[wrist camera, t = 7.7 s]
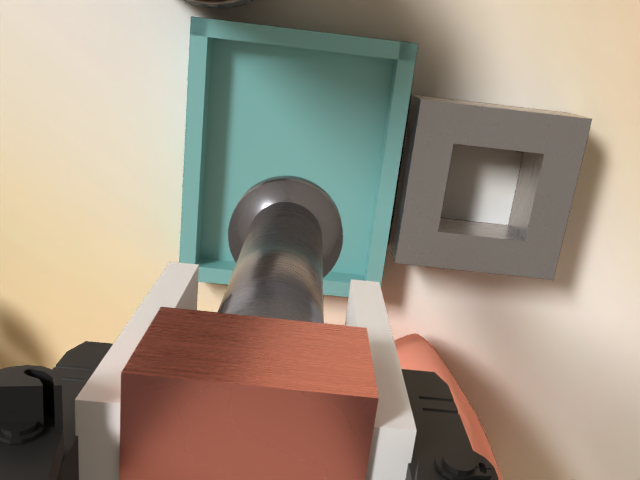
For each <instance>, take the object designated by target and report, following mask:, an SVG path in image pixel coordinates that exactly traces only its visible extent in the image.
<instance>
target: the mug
mask: <svg viewBox="0 0 640 480" xmlns="http://www.w3.org/2000/svg"><path fill="white" fill-rule="evenodd" d="M184 1H186V2H189V3H191V4H194V5H200V6H205V7H211V8H223V7H234V6H240V5H243V4H245V3H248V2H250V1H253V0H184Z"/></svg>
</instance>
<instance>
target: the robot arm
mask: <svg viewBox="0 0 640 480" xmlns="http://www.w3.org/2000/svg"><path fill="white" fill-rule="evenodd" d="M198 271H199V264H189V263H178V262H169V264H168V265H167V267H166V268H165V269H164V271H163V272H162V274H161V275H160V277H159V278H158V280H157V281H156V283H155V284H154V285H153V287H152V288H151V290H150V291H149V293H148V294H147V296H146V297H145V299H144V300H143V301H142V303H141V304H140V306H139V307H138V309H137V310H136V312H135V313H134V315H133V316H132V317H131V319H130V320H129V322H128V323H127V325H126V326H125V328H124V329H123V330H122V332H121V333H120V335H119V336H118V338H117V339H116V341H115V342H114V344H110V343H99V342H88V341H86V342H84V343H82V344H80V345H78V346H76V347H75V348H73V349H71V350H69V351H67V352H66V354H65V355H64V356H63V357H62V358H61V360H60V361H59V362H58V363H57V364H56V368H55V367H54V368H53V369H52V370H51V369H49V368H46V367H43V366H31V365H24V366H14V367H8V368H5V369H1V370H0V480H119V459H120V401H121V372H122V370H123V369H124V367H125V365H126V364H127V362H128V360H129V359H130V357H131V355H132V354H133V352H134V350H135V349H136V347H137V345H138V344H139V342H140V340H141V339H142V337H143V336H144V334H145V332H146V331H147V329H148V327H149V326H150V324H151V322H152V321H153V319H154V317H155V316H156V314H157V312H158V311H159V309H160V307H169V308H179V309H188V310H197V292H198ZM345 326H354V327H363V328H367V332H368V338H369V344H370V350H371V356H372V362H373V368H374V374H375V380H376V385H377V391H378V397H379V399H378V405H377V412H376V418H375V424H374V430H373V436H372V442H371V448H370V455H369V461H368V467H367V473H366V479H365V480H498V475H497V473H496V470H495V468H494V466H493V465H492V464H491V463H490V462H489V461H488V460H487V459H486V458H485V457H483V456H482V455H480V454H478V453H477V452H475V451H473V449H472V446H471V443H470V441H469V438H468V436H467V433H466V430H465V428H464V425H463V422H462V420H461V417H460V414H458V409H457V406H456V404H455V402H454V399H453V396H452V393H451V391H450V388H449V385H448V384H447V383H446V382H445V381H443V380H442V379H441V378H440V377H439V376H438V375H437V374H436V373H435V372H429V371H419V370H408V369H401V366H400V362H399V358H398V354H397V350H396V346H395V342H394V338H393V334H392V330H391V326H390V323H389V319H388V315H387V311H386V307H385V303H384V299H383V295H382V291H381V287H380V283H379V282H373V281H363V280H353V279H351V283H350V290H349V298H348V306H347V314H346V321H345Z"/></svg>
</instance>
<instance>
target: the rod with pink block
mask: <svg viewBox="0 0 640 480" xmlns="http://www.w3.org/2000/svg"><path fill="white" fill-rule="evenodd" d="M228 242H229V248H230V251H231V254H232V256H233V259H234V261H235V262H236V265H235V268H234V271H233V273H232V276H231V279H230V281H229V284H228V287H227V289H226V292H225V295H224V297H223V300H222V302H221V305H220V308H219V310H218V313H217V312H208V311H198V310H188V309H179V308H169V307H160V309H159V311H158V312H157V314H156V316H155V317H154V319H153V321H152V322H151V324H150V326H149V327H148V329H147V331H146V332H145V334H144V336H143V337H142V339H141V340H140V342H139V344H138V345H137V347H136V349H135V350H134V352H133V354H132V355H131V357H130V359H129V360H128V362H127V364H126V365H125V367H124V369H123V370H122V372H121V401H120V459H119V480H365V479H366V473H367V467H368V461H369V455H370V448H371V442H372V436H373V430H374V424H375V418H376V412H377V405H378V399H379V397H378V391H377V385H376V380H375V374H374V368H373V362H372V356H371V350H370V344H369V338H368V332H367V328H363V327H354V326H344V325H334V324H324V319H323V278H324V277H325V276H326V275H327V274H328V273H329V272H330V271H331V270H332V268H333V267H334V266H335V264H336V262H337V260H338V258H339V256H340V253H341V250H342V245H343V228H342V221H341V217H340V213H339V211H338V208H337V206H336V204H335V202H334V201H333V199H332V198H331V197H330V195H329V194H328V193H327V192H326V191H325V190H324V189H322V188H321V187H320V186H318V185H317V184H315V183H314V182H311V181H309V180H307V179H304V178H301V177H296V176H276V177H271V178H268V179H265V180H263V181H261V182H259V183H257V184H255V185H254V186H252V187H251V188H250V189H249V190H248V191H247V192H246V193H245V194H244V195H243V196H242V197H241V199H240V200H239V202H238V204H237V206H236V208H235V209H234V212H233V214H232V216H231V219H230V222H229V228H228Z"/></svg>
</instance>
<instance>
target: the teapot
mask: <svg viewBox="0 0 640 480" xmlns="http://www.w3.org/2000/svg"><path fill="white" fill-rule="evenodd" d="M394 342H395V346H396V350H397V354H398V358H399V362H400V366H401V369H408V370H419V371H429V372H435V373H436V374H437V375H438V376H439V377H440V378H441V379H442V380H443V381H445V382H446V383H447V384H448V385H449V388H450V391H451V393H452V396H453V399H454V402H455V404H456V406H457V409H458V414H460V417H461V420H462V422H463V425H464V428H465V430H466V433H467V436H468V438H469V441H470V443H471V446H472V449H473V451H475V452H477V453H478V454H480V455H482V456H483V457H485V458H486V459H487V460H488V461H489V462H490V463H491V464H492V465H493V466H494V468H495V470H496V473H497V475H498V480H502V477H501V474H500V471H499V468H498V466H497V463H496V460H495V458H494V455H493V452H492V450H491V447H490V445H489V442H488V440H487V438H486V435H485V433H484V431H483V429H482V427H481V425H480V422H479V420H478V418H477V416H476V415H475V413H474V411H473V409H472V407H471V405H470V403H469V402H468V400H467V398H466V397H465V395H464V393H463V392H462V390H461V388H460V387H459V385H458V384H457V382H456V380H455V379H454V377H453V376H452V374H451V373H450V371H449V370H448V368H447V367H446V365H445V364H444V362H443V361H442V359H441V358H440V357H439V355H438V354H437V353H436V351H435V350H434V348H433V347H432V346H431V345H430V344H429V343H428V342H427V341H426V340H425V339H424V338H423V337H421V336H420V335H419V334H411V335H407V336H404V337H402V338H399V339H397V340H394Z"/></svg>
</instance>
